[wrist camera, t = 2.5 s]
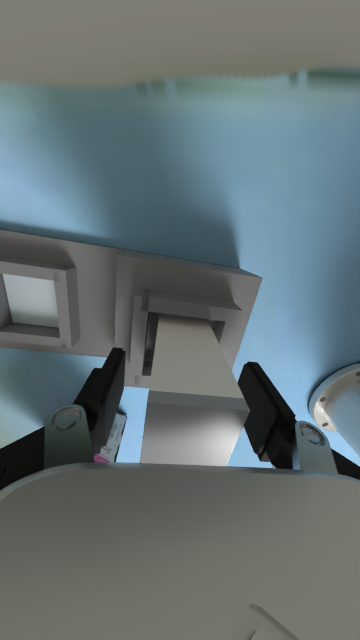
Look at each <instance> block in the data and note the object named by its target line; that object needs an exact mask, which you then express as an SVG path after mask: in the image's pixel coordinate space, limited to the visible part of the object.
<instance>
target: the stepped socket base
mask: <svg viewBox="0 0 360 640" xmlns="http://www.w3.org/2000/svg"><path fill="white" fill-rule="evenodd" d="M261 281H262V277H259V276H257V275H254V274H252V273H250V272H247V271H245V270H242V269H240V268H234V267H228V266H222V265H216V264H210V263H204V262H197V261H191V260H185V259H179V258H173V257H167V256H161V255H155V254H149V253H143V252H137V251H131V250H124V249H118V248H112V247H106V246H100V245H94V244H88V243H82V242H76V241H70V240H64V239H58V238H52V237H45V236H39V235H33V234H27V233H21V232H15V231H9V230H3V229H0V347H8V348H18V349H28V350H37V351H47V352H57V353H67V354H77V355H87V356H97V357H108V355H109V353H110V352H111V350H112V348H113V347H117V348H123V351H126V360H125V379H124V386H129V387H140V388H149V386H150V379H151V372H152V365H153V357H154V350H155V343H156V336H157V329H158V321H159V314H160V313H163V314H171V315H178V316H186V317H194V318H201V319H208V322H209V324H210V326H211V328H212V330H213V332H214V334H215V337H216V339H217V341H218V343H219V345H220V347H221V349H222V352H223V354H224V356H225V358H226V360H227V362H228V364H229V367H230V369H231V371H232V368H233V365H234V362H235V359H236V356H237V353H238V350H239V347H240V344H241V341H242V338H243V335H244V332H245V329H246V326H247V323H248V320H249V317H250V314H251V311H252V308H253V305H254V302H255V299H256V296H257V293H258V290H259V287H260V284H261Z"/></svg>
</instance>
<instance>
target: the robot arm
mask: <svg viewBox="0 0 360 640" xmlns="http://www.w3.org/2000/svg"><path fill="white" fill-rule="evenodd" d="M125 360H126V351H123V348H117V347H113V348H112V350H111V352H110V353H109V355H108V357H107V359H106V361H105V363H104V365H103V367H102V368H94V369H93V371H92V372H91V374H90V376H89V377H88V379H87V381H86V382H85V384H84V386H83V388H82V389H81V391H80V393H79V394H78V396H77V398H76V399H75V401H74V403H73V404H69V405H64V406H62V407H59V408H58V409H56V410H54V411H53V412H52V413H51V414H50V415H49V416H48V418H47V419H46V422H45V426H44V427H42V428H40V429H38V430H36V431H34V432H32V433H30V434H28V435H27V436H25V437H23V438H21V439H19V440H17V441H15V442H13V443H11V444H9V445H7V446H5V447H3V448H1V449H0V640H360V467H359V466H358V465H356V464H355V463H353V462H352V461H350V460H348V459H347V458H345V457H344V456H342V455H341V454H339V453H338V452H336V451H334V450H333V449H331V448H330V444H329V441H328V439H327V437H326V436H325V435H324V433H323V432H322V431H321V430H320V429H318V428H317V427H316V426H314V425H313V424H311V423H309V422H306V421H296V419H295V414H294V413H293V411H292V410H291V409H290V407H289V406H288V404H287V403H286V402H285V400H284V399H283V397H282V396H281V395H280V393H279V392H278V390H277V389H276V388H275V386H274V385H273V383H272V382H271V381H270V379H269V378H268V376H267V375H266V374H265V372H264V371H263V369H262V368H261V366H260V365H259V364H258V363H257V362H247V364H244V366H243V369H242V372H241V375H240V378H239V380H238V383H237V384H238V386H239V388H240V390H241V392H242V394H243V397H244V399H245V401H246V403H247V405H248V407H249V409H250V412H249V414H248V417H247V419H246V421H245V424H244V428H245V430H246V433H247V435H248V438H249V441H250V443H251V446H252V448H253V451H254V452H255V454H257V455H258V457H259V460H260V461H263V462H271V464H272V468H255V467H232V466H208V465H182V464H153V463H113V462H95V461H94V456H95V454H100V451H101V448H102V446H103V447H106V445H107V442H108V439H109V435H110V432H111V429H112V426H113V422H114V419H115V416H116V413H117V409H118V406H119V403H120V400H121V396H122V393H123V389H124V379H125ZM309 413H310V415H311V417H312V419H313V420H314V421H315V422H316V424H317V425H318V426H319V427H321V428H323V429H325V430H328V431H332V432H338V433H339V434H340V435H341V436H342V437H343V438H344V440H345V441H346V442H347V443H348V444H349V445H350V446H351V448H352V449H353V450H354V451H355V452H356V453H357V455H358V456H359V457H360V363H357V364H353V365H350V366H347V367H345V368H343V369H341V370H339V371H337V372H335V373H334V374H332V375H331V376H329V377H328V378H327V379H326V380H324V381H323V382H322V383H321V384H320V385H319V386H318V387H317V389H316V390H315V392H314V393H313V395H312V397H311V400H310V403H309Z"/></svg>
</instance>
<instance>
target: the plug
mask: <svg viewBox="0 0 360 640" xmlns="http://www.w3.org/2000/svg"><path fill="white" fill-rule="evenodd" d="M249 412H250V409H249V407H248V405H247V403H246V401H245V399H244V397H243V394H242V392H241V390H240V388H239V386H238V384H237V382H236V379H235V377H234V375H233V373H232V371H231V369H230V367H229V364H228V362H227V360H226V358H225V356H224V354H223V352H222V349H221V347H220V345H219V343H218V341H217V339H216V337H215V334H214V332H213V330H212V328H211V326H210V324H209V322H208V319H201V318H194V317H186V316H178V315H171V314H163V313H160V314H159V321H158V329H157V336H156V343H155V350H154V357H153V365H152V372H151V379H150V386H149V393H148V401H147V409H146V417H145V425H144V433H143V441H142V449H141V457H140V463H153V464H182V465H208V466H227V464H228V461H229V459H230V456H231V454H232V452H233V449H234V447H235V445H236V442H237V440H238V438H239V435H240V433H241V431H242V428H243V426H244V424H245V421H246V419H247V417H248V414H249Z"/></svg>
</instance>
